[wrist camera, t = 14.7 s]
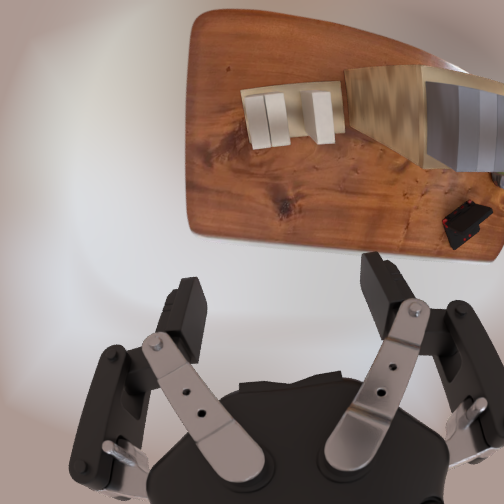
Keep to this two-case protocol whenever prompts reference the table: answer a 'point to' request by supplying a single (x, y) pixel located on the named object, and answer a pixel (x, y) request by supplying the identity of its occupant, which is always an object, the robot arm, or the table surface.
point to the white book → (318, 116)
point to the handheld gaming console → (465, 222)
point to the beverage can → (498, 179)
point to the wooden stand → (430, 115)
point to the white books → (284, 112)
